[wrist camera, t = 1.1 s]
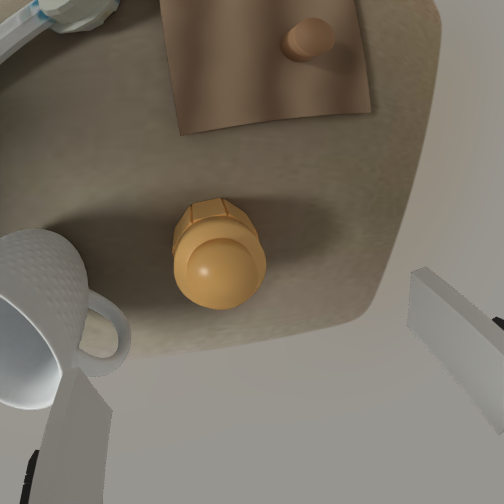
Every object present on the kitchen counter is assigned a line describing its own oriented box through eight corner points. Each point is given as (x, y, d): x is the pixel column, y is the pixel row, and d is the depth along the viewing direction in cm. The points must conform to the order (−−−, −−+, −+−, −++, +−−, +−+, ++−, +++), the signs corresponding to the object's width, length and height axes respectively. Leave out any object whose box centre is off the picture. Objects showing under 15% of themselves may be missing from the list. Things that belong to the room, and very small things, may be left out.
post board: (181, 135, 24) (178, 139, 19) (154, -50, 16) (149, -80, 11) (362, 112, 25) (398, 114, 20) (331, -55, 18) (357, -79, 13)
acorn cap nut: (185, 275, 29) (186, 328, 21) (169, 208, 26) (161, 245, 19) (254, 260, 29) (276, 308, 22) (243, 193, 27) (265, 223, 19)
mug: (159, 256, 27) (145, 358, 16) (121, 342, 30) (104, 446, 19) (19, 190, 22) (-71, 247, 10) (0, 286, 25) (-59, 367, 13)
